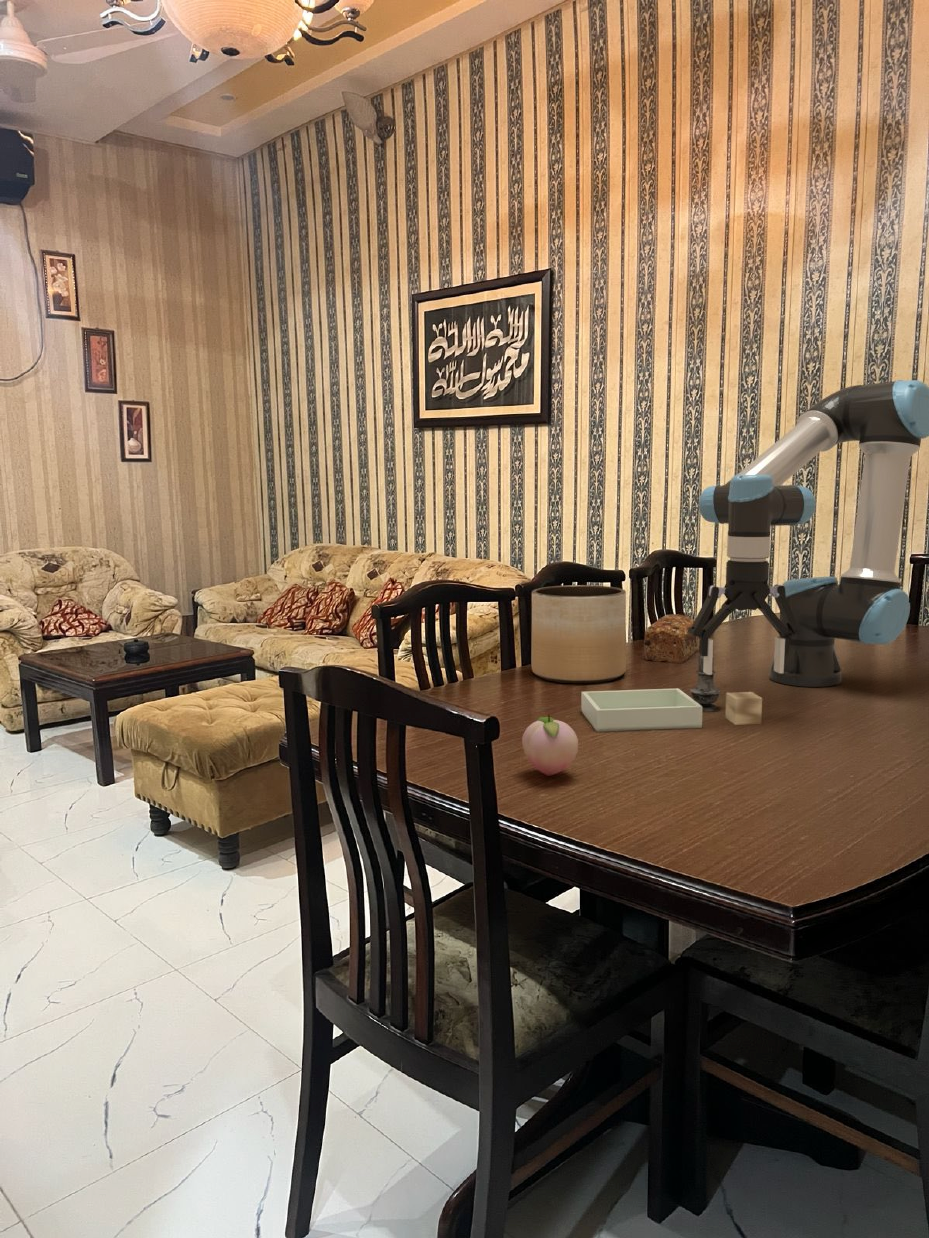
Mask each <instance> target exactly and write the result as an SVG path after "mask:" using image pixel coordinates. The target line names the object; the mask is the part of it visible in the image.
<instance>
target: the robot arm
mask: <svg viewBox="0 0 929 1238" xmlns="http://www.w3.org/2000/svg"><path fill="white" fill-rule="evenodd" d="M928 437H929V386H928V385H927V384H926V383H925V382H923V381H920V380H914V379H912V380H902V379H898V380H894V381H887V382H886V381H885V382H877V383H869V384H868V383H867V384H857V385H851V386H847V387H844V388H841V389H839V390H837V391H835V392H832V393H831V394H829V395H828V396H826V397H824V398H823V399H821V400H819V401H818V402H816V403H815V404H814V405H812V406H811V407H809V408H808V409H807V410H806V411H805V412H803V413H802V414H801V415H800V416H799V418H797V421H796V425H795V426H794V427H793V428H792V429H790V430H789V431H788V432H787V433H785V435H783V436H782V437H781V438H780V439H778V440H776V442H775V443H773V444H772V445H771V446H770V447H768V448H767V449H766V450H765V451H763V452H762V454H760V455H759V456H758V457H756V458H755V459H754V460H753V461H751V462H750V463H749V464H748V465H747V466H746V467H745V468H743V469H742V470H741V471H740V472H738V473H737V474H736V475H733V476H732V477H731V478H730V479H729V480H728V482H726V483H725V484H723V485H721V484H715V485H711V486H707V487H706V488H704V490H702V493H700V496H699V500H698V510H699V513H700V515H701V517H702V519H704V520H705V521H707V522H709V523H716V524H720V525H724V524H727V525H728V529H727V548H726V557H728V558H729V559H728V560H727V561H726V564H725V565H726V568H725V584H724V586H723V587H722V586H716V585H713V584H710V585H708V587H707V588H708V589H707V596H706V598H705V600H704V601H703V603H702V606H701V608H700V609H699V611H698V613H697V615H696V617H695V619H694V620H695V621H694V623H693V625H692V627H691V629H690V634H692V635H694V636H697V637H699V638H698V644H699V645H698V647H699V648H698V653H699V656H700V655H701V656H704V664H703V672H704V673H706V674H708V675H712V660H713V658H714V656H713V654H714V640H713V639H712V638H710V637H711V636H712V635H713V634H714V633H715V632H716V631H717V630H718V628H719V627H720V626H721V625H722V624H723V623H724V622H725V620H726V619H727V618H728V617H729V616H730V614H732V613H733V612H734V611H735V610H737V611H745V610H750V611H756V610H758V611H760V612H761V613H762V614H763V616H764V617H765V618H766V620H767V621H768V622H769V623H770V624H771V626H772V627H773V628H774V630H775V631H776V633H777V634H778V636H775V637H774V655H773V659H772V662H771V665H770V667H769V679H770V680H771V681H773V682H776V683H778V684H779V683H780V684H783V685H789V686H795V687H809V688H810V687H812V688H813V687H814V688H816V687H821V688H823V687H831V686H837V685H840V683H842V673H843V672H842V668H841V665H840V662H839V658H838V654H837V653H836V649H835V641H836V640H835V639H839V640H845V641H852V642H859V643H862V644H867V645H869V644H874V645H875V644H876V645H886V644H889V643H891V642H893V641H895V640H896V639H897V638H898V636H899V635H901V634H902V632H903V631H904V629H905V627H906V625H907V624H908V623H907V622H908V620H909V617H910V610H911V603H910V602H909V601H910V598H909V597H910V596H908V593H906V592H905V591H904V590H902V589H901V584H902V581H901V579H900V578H899V577H898V575H896V572H895V570H896V569H895V568H896V564H897V563H896V562H897V555H898V547H899V542H900V541H899V540H900V534H901V526H902V520H903V519H902V518H903V513H904V505H905V498H906V492H907V491H906V490H907V486H908V484H907V483H908V477H909V469H910V463H911V458H912V456H914V455H915V454H916V453H917V452H918V451H919V450H920V449H921V445H922V444H921V443H922V440H923V439H926V438H928ZM854 441H857V442H858V448H859V449H860V450H861V451H862V452H863V454H864V461H863V469H862V475H861V483H860V489H859V498H858V504H857V505H858V506H857V512H856V520H855V527H854V534H853V542H852V547H851V548H852V549H851V550H852V551H851V555H850V556H851V557H850V562H849V568H848V570H846V571H845V572H843V573H841V575H840V578H839V579H840V581H838V578H837V576H817V577H816V576H815V577H805V578H804V577H803V578H795V579H788V580H786V581H784V582H783V583H782V585H781V584H777V583H776V584H774V585H773V586H771V585H770V586H769V579H770V577H769V576H770V575H769V573H770V572H769V571H770V563H769V561H768V560H767V559H769V558H770V552H771V527H773V526H775V527H777V526H778V527H779V526H784V527H785V526H791V527H795V526H798V525H802V524H805V523H807V522H808V521H809V520H811V519H812V517H813V516H814V514H815V510H816V503H817V502H816V498H815V495H814V494H813V492H812V491H811V490H810V489H809V488H808V487H805V486H803V485H797V484H787V485H786V484H785V485H783V484H784V483H786V482H787V481H788V480H789V479H790V478H792V477H793V476H794V475H795V474H796V473H797V472H798V471H799V470H801V469H802V468H803V467H804V466H806V464H808V463H809V462H810V461H811V460H812V459H813V458H814V457H816V456H817V455H818V454H820V453H821V452H827V451H829V450H831V449H833V448H834V447H835V446H836V445H838V444H841V443H847V442H854ZM770 594H771V596H772V598H774V601H775V602H776V605H777V607H778V610H779V617H778V616H777V615H776V613H775V612H774V610H773V609H772V608H771V606H770V605H769V603H768V602H767V601H766V599H767V598H768V596H769V595H770ZM722 595H724V597H725V598H726V600H725V601H724V602H723V603H722V605H721V606H720V608H719V609H718V610H717V612H716V613H715V614H714V615H713V616H712V617H711V618H710V619H709V617H710V616H711V613H712V611H713V609H714V608H715V607H716V604H717V603H718V600H719V599H720V598H721V597H722ZM708 620H709V621H708ZM707 621H708V622H707Z"/></svg>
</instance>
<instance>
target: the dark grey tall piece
mask: <svg viewBox="0 0 929 1238" xmlns="http://www.w3.org/2000/svg"><path fill="white" fill-rule="evenodd" d="M714 663H715V662H714V657H713V660H712V675H708V674H706V673H704V672H703V664H704V656H701V655H700V654H699V656H698V664H697V665H698V666H697V669H698V670H696V673H697V683H696V686H695V687H692V688H690V690H689V692H690V693H691V698H692V699H693V700H694V701H696V702H697V703H698V704H700V705H701V706H702V712H715V711H716V712H717V711H718V710H719V707H718V706H717V705H716V704H715V702H717V701H718V699H719V696H720V694H721V693H722V691H721V690H720V689H718V688H716V687H715V683H714V674H716V671H715V670H714Z"/></svg>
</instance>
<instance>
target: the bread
mask: <svg viewBox="0 0 929 1238" xmlns="http://www.w3.org/2000/svg"><path fill="white" fill-rule="evenodd" d="M694 621H695V619H693V618H692V617H690V616H686V615H685V614H679V613H678V614H677V613H676V614H675V613H672V614H665V615H664V616H662V617H660V618H659V619H657V620H656V621H655V622H653V623H652V624H651V625H650V626H648V627H647V628H646V629H645V631H644V636H643V637H644V651H645V655H644V656H645V659H646V661H653V662H658V663H659V662H666V663H667V662H668V663H672V664H673V663H677V664H684V663H685V662H686V661H687V660H688V659H690V657H691V656H693V655H694V654H695V653H696V651H697V649H698V644H699V637H697V636H694V635H692V634H690V629H691V627H692V625H693V623H694Z"/></svg>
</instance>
